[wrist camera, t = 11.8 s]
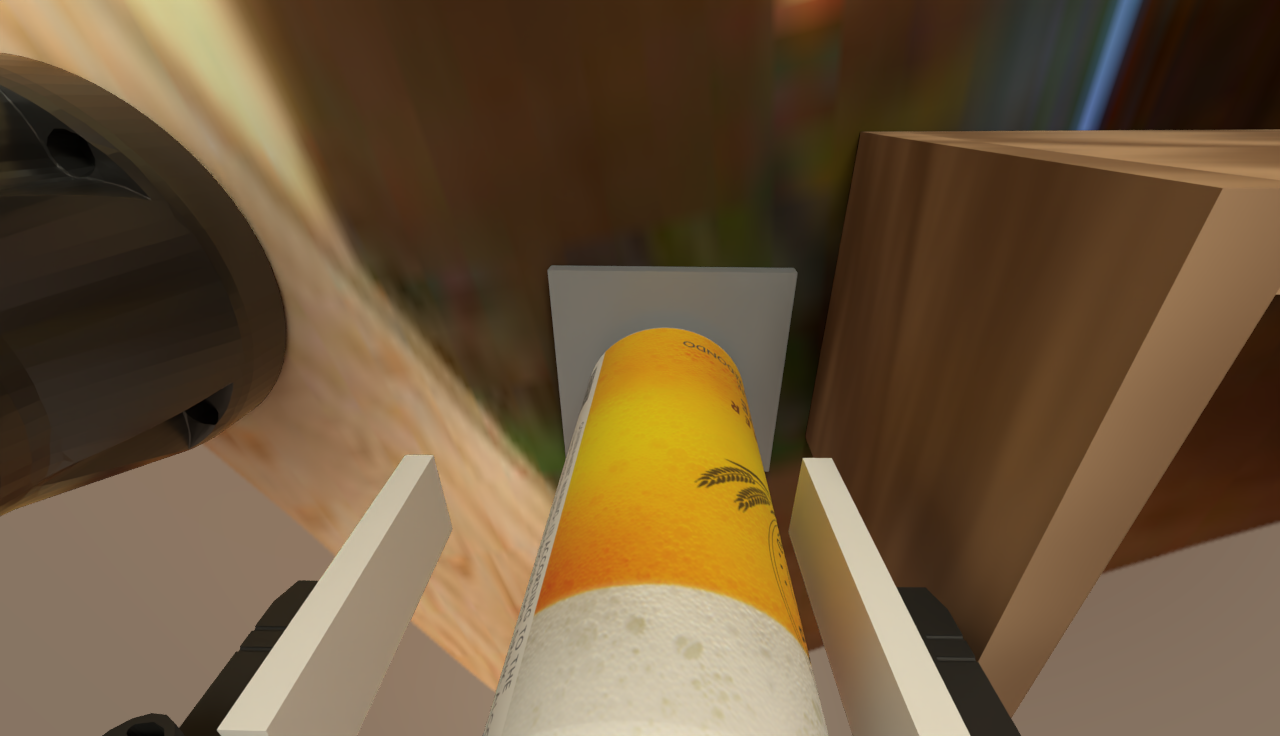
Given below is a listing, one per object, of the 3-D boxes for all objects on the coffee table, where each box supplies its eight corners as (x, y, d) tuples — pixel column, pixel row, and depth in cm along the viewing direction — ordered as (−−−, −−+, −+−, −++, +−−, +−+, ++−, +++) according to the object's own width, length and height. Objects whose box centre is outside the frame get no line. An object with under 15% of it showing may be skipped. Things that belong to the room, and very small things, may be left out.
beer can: (722, 457, 22) (798, 1010, 9) (585, 436, 22) (445, 963, 8) (758, 332, 19) (956, 878, 6) (599, 307, 19) (420, 802, 6)
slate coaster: (569, 456, 23) (566, 464, 22) (551, 265, 19) (547, 270, 18) (766, 463, 22) (768, 471, 22) (794, 268, 18) (797, 272, 18)
